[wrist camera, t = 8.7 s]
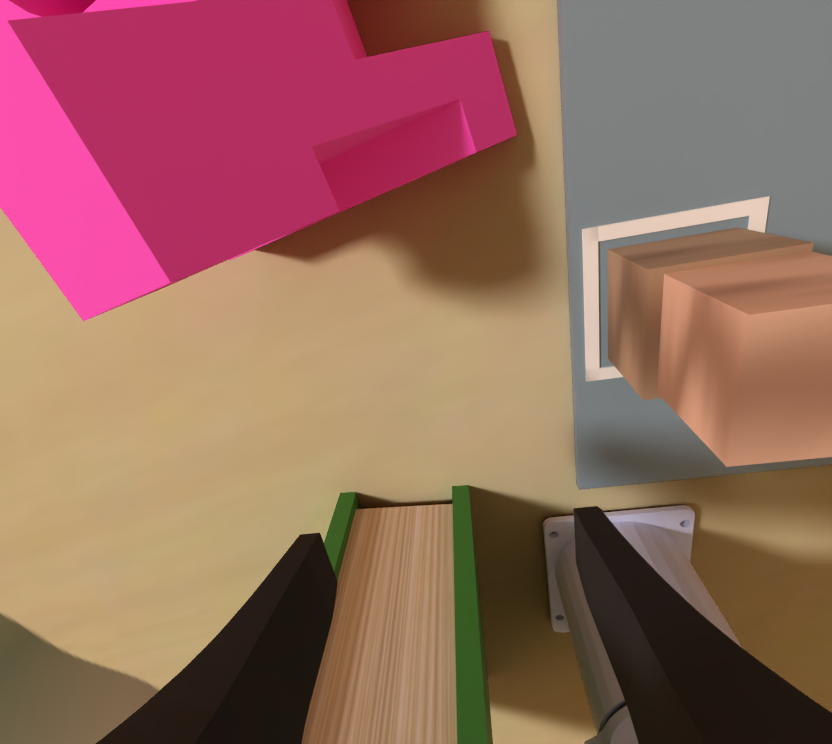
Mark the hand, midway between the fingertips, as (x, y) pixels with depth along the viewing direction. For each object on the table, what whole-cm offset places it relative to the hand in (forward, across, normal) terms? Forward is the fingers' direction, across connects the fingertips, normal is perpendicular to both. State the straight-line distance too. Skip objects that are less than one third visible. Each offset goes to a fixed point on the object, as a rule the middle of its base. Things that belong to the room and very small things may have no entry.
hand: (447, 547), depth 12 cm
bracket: (+11, +3, -14) cm, 18 cm away
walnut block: (+10, -10, -3) cm, 14 cm away
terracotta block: (+6, -10, -3) cm, 12 cm away
